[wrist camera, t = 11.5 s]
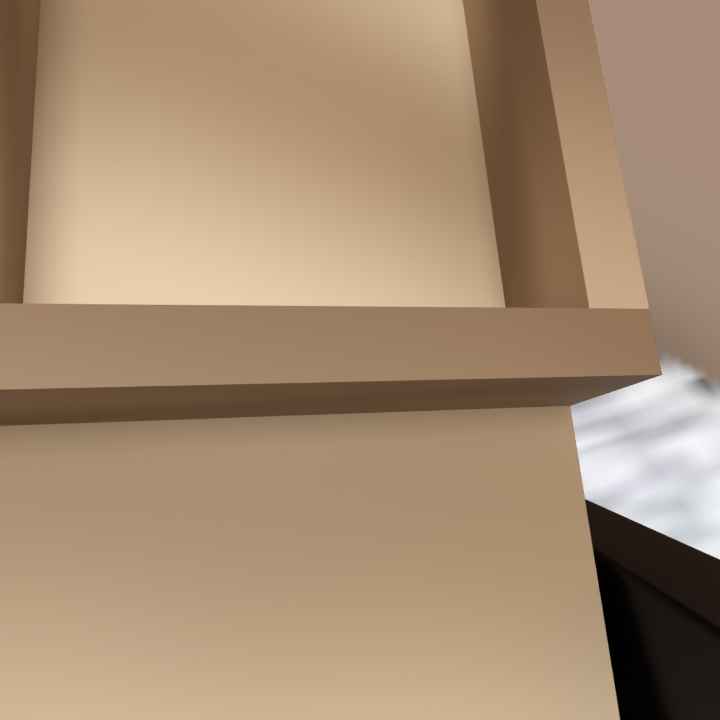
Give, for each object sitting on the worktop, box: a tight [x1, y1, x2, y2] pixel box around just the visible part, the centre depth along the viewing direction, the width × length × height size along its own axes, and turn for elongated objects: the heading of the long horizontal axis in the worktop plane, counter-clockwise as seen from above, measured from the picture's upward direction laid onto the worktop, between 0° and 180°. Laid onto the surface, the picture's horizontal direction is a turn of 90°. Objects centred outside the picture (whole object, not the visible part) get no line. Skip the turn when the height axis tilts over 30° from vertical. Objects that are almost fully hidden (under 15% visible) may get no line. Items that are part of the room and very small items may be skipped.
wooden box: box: [0, 0, 662, 720], centre depth 9 cm, size 9×5×11 cm, turn 4°
